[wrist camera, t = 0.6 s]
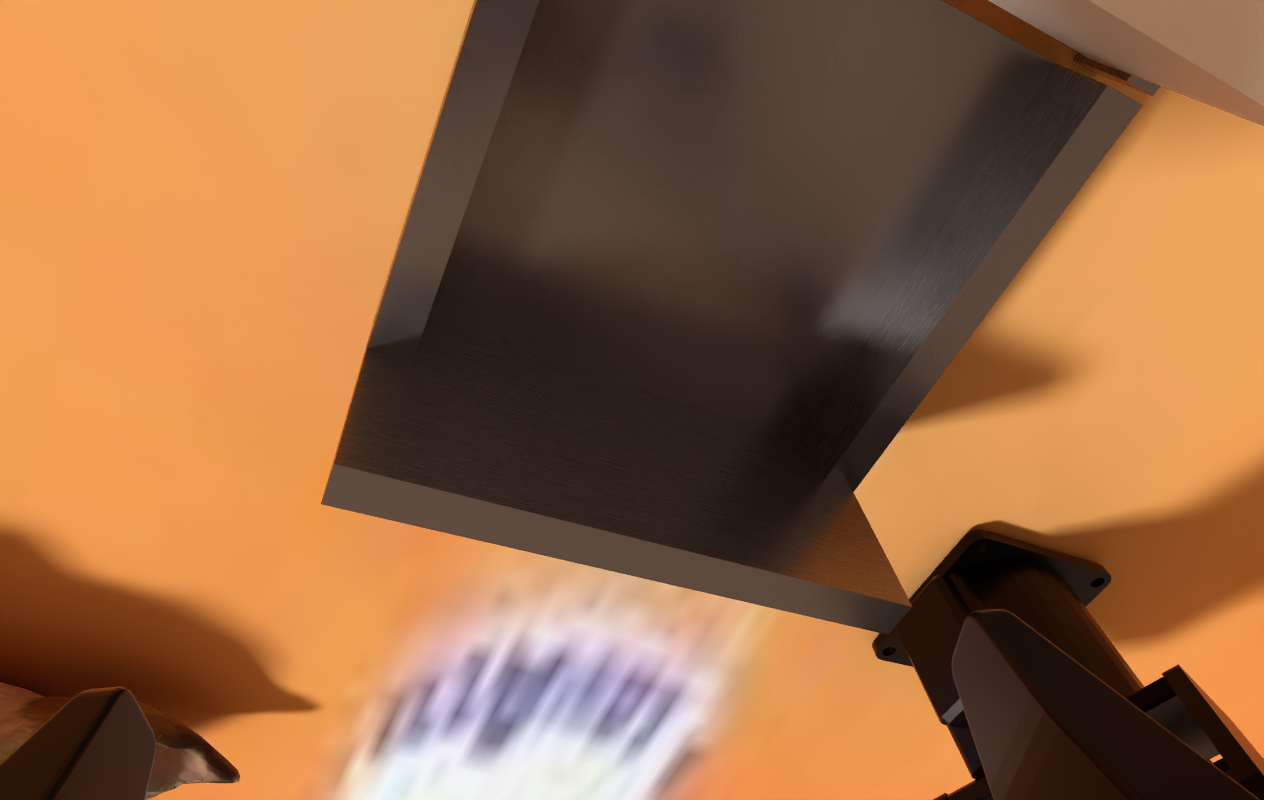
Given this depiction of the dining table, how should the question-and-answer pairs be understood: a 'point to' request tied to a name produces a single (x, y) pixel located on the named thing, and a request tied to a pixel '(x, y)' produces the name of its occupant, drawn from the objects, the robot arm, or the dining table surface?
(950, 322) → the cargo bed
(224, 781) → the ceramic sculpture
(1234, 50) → the tailgate
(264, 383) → the dining table surface
